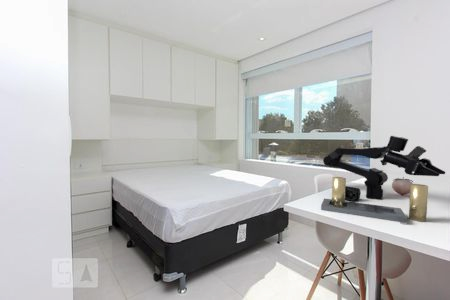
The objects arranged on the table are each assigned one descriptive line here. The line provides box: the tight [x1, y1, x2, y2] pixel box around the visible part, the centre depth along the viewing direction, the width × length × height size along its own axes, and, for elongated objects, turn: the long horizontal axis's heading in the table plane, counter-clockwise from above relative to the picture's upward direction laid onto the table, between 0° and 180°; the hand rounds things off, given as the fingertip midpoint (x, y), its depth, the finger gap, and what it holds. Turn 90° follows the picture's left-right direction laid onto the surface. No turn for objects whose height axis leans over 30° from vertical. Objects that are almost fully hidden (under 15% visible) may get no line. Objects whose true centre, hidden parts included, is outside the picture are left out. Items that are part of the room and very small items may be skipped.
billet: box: [331, 176, 347, 207], centre depth 94 cm, size 5×5×13 cm
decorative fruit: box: [391, 176, 414, 196], centre depth 118 cm, size 9×8×10 cm
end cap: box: [345, 185, 362, 202], centre depth 110 cm, size 10×7×7 cm
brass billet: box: [408, 183, 429, 223], centre depth 83 cm, size 5×5×13 cm
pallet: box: [320, 198, 408, 225], centre depth 91 cm, size 28×12×2 cm, turn 61°
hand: (442, 174), depth 93 cm, fingers open, 9 cm apart
